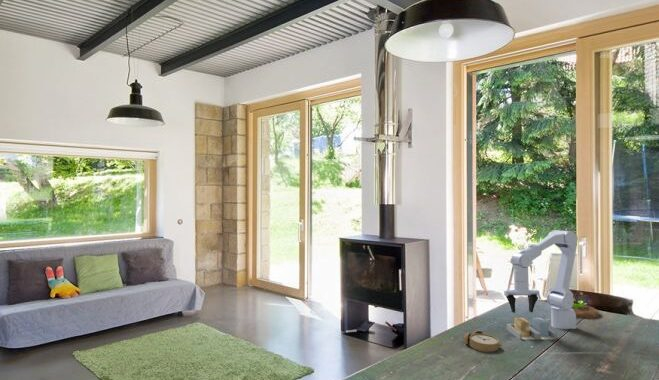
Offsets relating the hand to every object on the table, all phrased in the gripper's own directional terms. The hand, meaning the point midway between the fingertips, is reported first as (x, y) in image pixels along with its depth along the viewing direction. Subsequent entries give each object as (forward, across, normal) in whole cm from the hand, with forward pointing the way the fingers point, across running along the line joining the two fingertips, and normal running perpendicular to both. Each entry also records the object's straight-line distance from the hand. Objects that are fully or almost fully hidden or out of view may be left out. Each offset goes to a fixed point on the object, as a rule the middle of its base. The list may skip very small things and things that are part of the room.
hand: (522, 312), depth 187 cm
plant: (+10, -41, -32) cm, 53 cm away
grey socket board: (+9, -2, +3) cm, 10 cm away
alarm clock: (+10, +23, +15) cm, 29 cm away
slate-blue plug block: (+8, -6, +4) cm, 11 cm away
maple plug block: (+8, +2, +3) cm, 9 cm away
